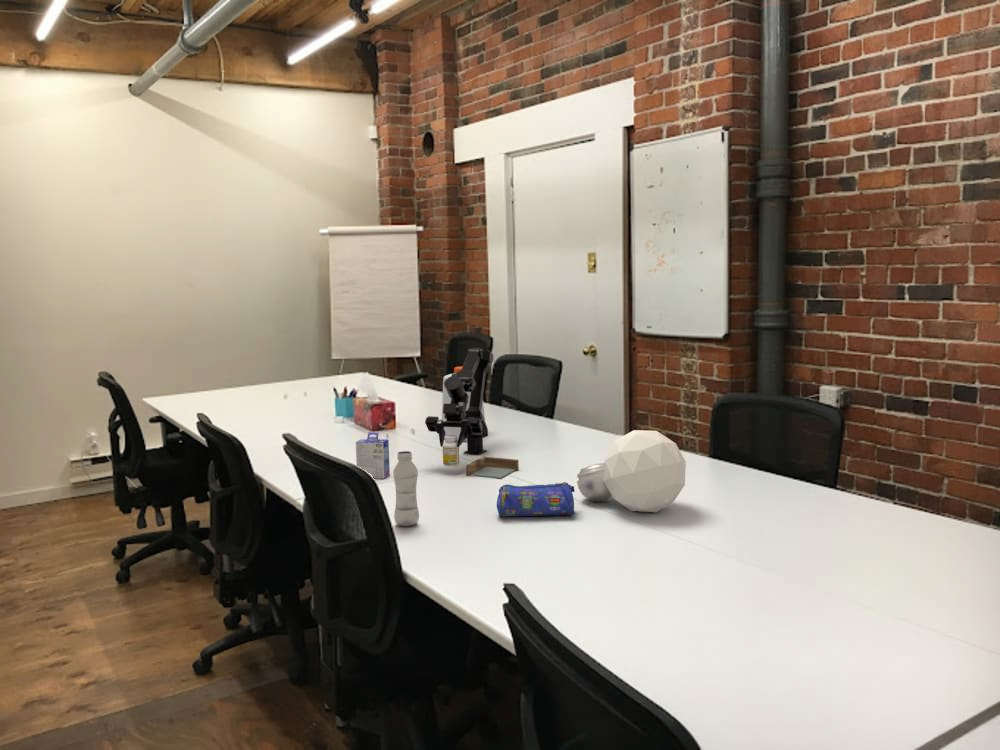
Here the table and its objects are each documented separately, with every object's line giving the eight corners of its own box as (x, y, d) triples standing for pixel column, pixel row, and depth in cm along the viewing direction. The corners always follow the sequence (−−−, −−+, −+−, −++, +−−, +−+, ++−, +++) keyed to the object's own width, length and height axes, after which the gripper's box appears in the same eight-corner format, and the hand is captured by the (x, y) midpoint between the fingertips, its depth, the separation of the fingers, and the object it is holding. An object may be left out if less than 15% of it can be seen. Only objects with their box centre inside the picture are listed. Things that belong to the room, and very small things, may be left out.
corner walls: (483, 466, 290) (483, 456, 290) (518, 469, 285) (518, 459, 284) (466, 475, 279) (465, 465, 278) (501, 479, 273) (501, 468, 273)
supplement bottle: (449, 462, 286) (449, 433, 284) (462, 464, 282) (461, 435, 281) (439, 465, 281) (438, 436, 280) (452, 467, 278) (451, 438, 277)
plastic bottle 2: (490, 435, 338) (488, 365, 334) (468, 443, 326) (466, 370, 322) (459, 432, 346) (457, 363, 342) (436, 439, 334) (434, 368, 330)
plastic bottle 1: (394, 521, 232) (392, 450, 229) (419, 520, 233) (417, 449, 230) (394, 529, 226) (391, 456, 223) (419, 528, 226) (417, 455, 224)
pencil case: (574, 510, 240) (574, 477, 239) (578, 519, 232) (577, 485, 230) (496, 512, 240) (495, 479, 238) (497, 521, 231) (496, 487, 230)
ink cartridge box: (390, 474, 282) (389, 432, 280) (385, 479, 276) (383, 435, 274) (362, 473, 284) (360, 431, 282) (356, 478, 278) (354, 434, 276)
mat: (485, 467, 288) (485, 466, 288) (515, 470, 284) (515, 469, 283) (470, 475, 278) (470, 474, 278) (501, 479, 274) (501, 477, 274)
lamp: (671, 510, 219) (648, 421, 223) (569, 532, 240) (550, 450, 244) (711, 499, 236) (689, 417, 240) (612, 521, 257) (594, 445, 261)
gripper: (425, 392, 284) (416, 432, 275) (479, 393, 280) (471, 434, 271) (433, 411, 293) (424, 450, 284) (486, 412, 289) (478, 452, 280)
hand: (449, 446), depth 279 cm, fingers closed on supplement bottle, 5 cm apart
